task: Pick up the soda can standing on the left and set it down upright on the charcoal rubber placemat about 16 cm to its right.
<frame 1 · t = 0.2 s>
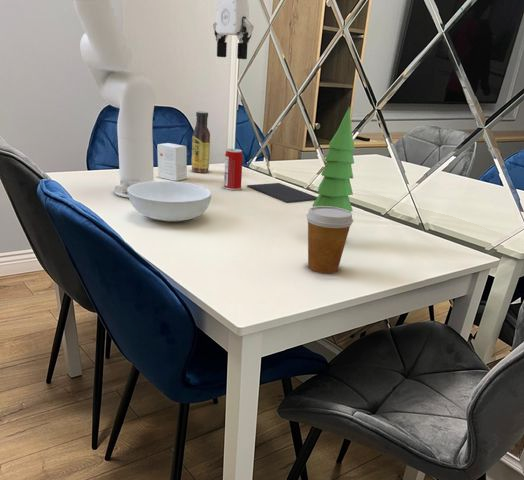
hand: (231, 57, 158), 37 cm above the table, tool pointing down, fingers open, 9 cm apart
decorative tree: (327, 241, 130), on the table
small box: (172, 178, 179), on the table
disposable coffee cup: (322, 269, 113), on the table
soda can: (232, 189, 172), on the table
placemat: (282, 193, 172), on the table
sauce bottle: (200, 172, 192), on the table
serving bowl: (170, 217, 138), on the table
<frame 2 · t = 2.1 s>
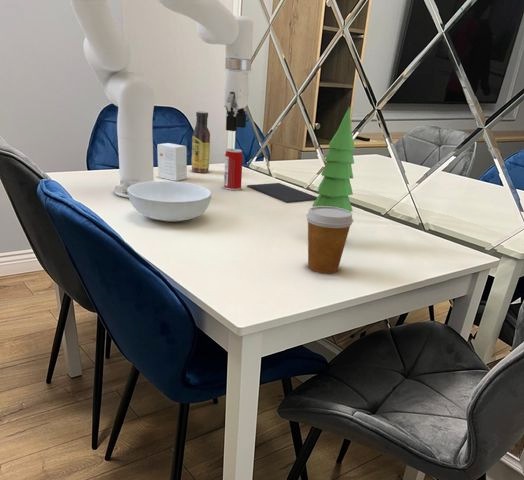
hand: (236, 128, 164), 18 cm above the table, tool pointing down, fingers open, 9 cm apart
nothing on the table moved.
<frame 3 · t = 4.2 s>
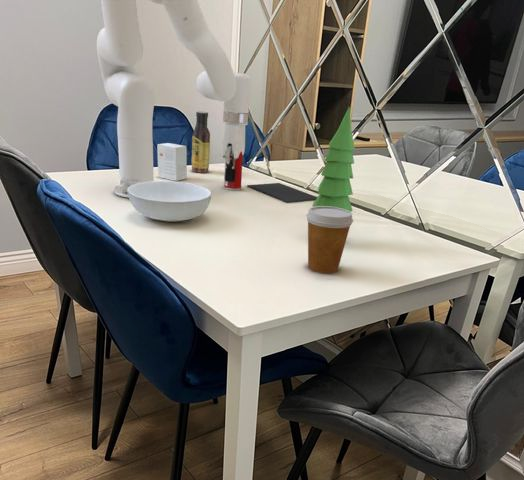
hand: (232, 179, 171), 3 cm above the table, tool pointing down, fingers closed on soda can, 5 cm apart
soda can: (232, 189, 172), on the table, touching gripper
everything else where it was.
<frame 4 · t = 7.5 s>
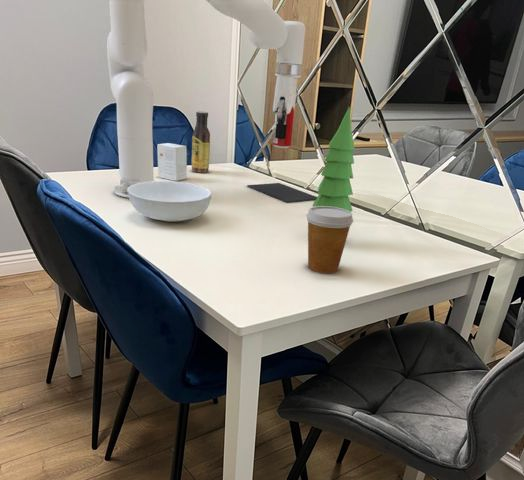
hand: (282, 136, 164), 17 cm above the table, tool pointing down, fingers closed on soda can, 5 cm apart
soda can: (281, 147, 165), point 14 cm above the table, touching gripper
everything else where it was.
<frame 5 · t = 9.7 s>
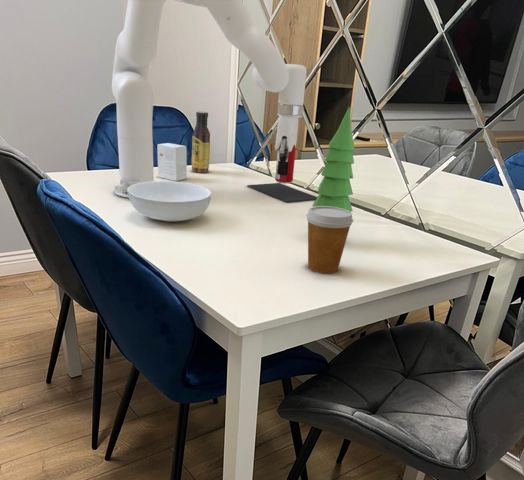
hand: (284, 172, 169), 6 cm above the table, tool pointing down, fingers closed on soda can, 5 cm apart
soda can: (283, 182, 170), point 3 cm above the table, touching gripper
everything else where it was.
when the fingers open (3 cm above the table, at t = 10.9 s): soda can stays where it is, resting on placemat.
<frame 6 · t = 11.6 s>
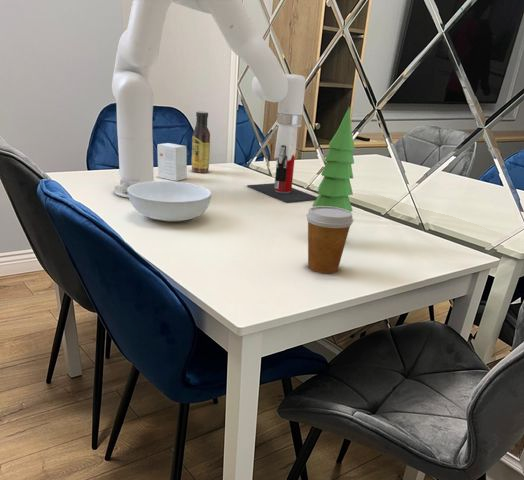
hand: (283, 178, 169), 5 cm above the table, tool pointing down, fingers open, 9 cm apart
soda can: (282, 192, 172), resting on placemat
everything else where it was.
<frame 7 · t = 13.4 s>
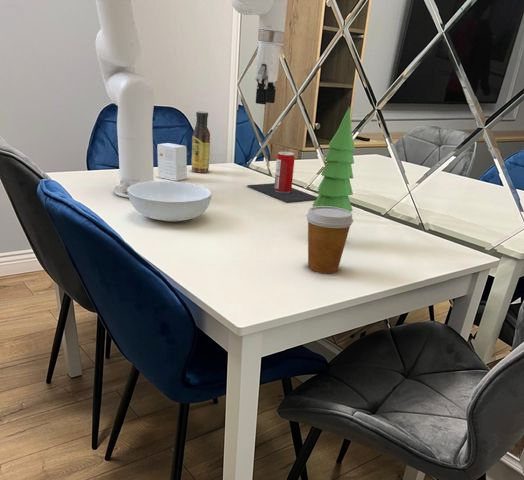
hand: (265, 103, 163), 25 cm above the table, tool pointing down, fingers open, 9 cm apart
nothing on the table moved.
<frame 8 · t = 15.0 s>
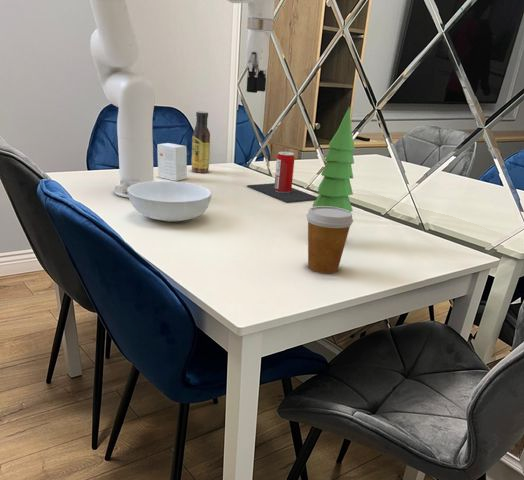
hand: (256, 91, 164), 28 cm above the table, tool pointing down, fingers open, 9 cm apart
nothing on the table moved.
at the end: soda can 0.1 cm from the placemat (horizontally); soda can touching placemat; soda can tilted 0° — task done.
